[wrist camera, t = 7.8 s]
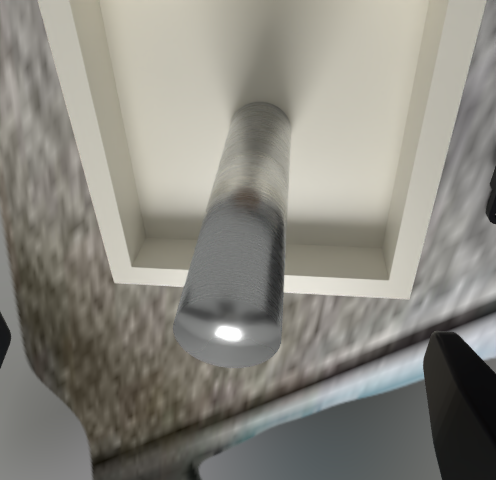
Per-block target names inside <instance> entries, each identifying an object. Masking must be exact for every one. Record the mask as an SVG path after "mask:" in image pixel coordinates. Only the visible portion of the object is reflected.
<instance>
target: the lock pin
mask: <svg viewBox="0 0 496 480" xmlns="http://www.w3.org/2000/svg"><path fill="white" fill-rule="evenodd" d="M290 149H291V124H290V121H289V119H288V117H287V115H286V114H285V113H284V112H283V111H282V110H281V109H280V108H279V107H277V106H275V105H273V104H271V103H267V102H252V103H249V104H246V105H244V106H243V107H241V108H240V109H239V110H238V111H237V112H236V113H235V115H234V116H233V118H232V121H231V124H230V128H229V131H228V135H227V138H226V142H225V145H224V149H223V152H222V156H221V159H220V163H219V166H218V170H217V173H216V177H215V180H214V184H213V187H212V191H211V194H210V198H209V201H208V205H207V208H206V212H205V215H204V219H203V222H202V226H201V229H200V233H199V236H198V240H197V243H196V247H195V250H194V254H193V257H192V261H191V264H190V268H189V271H188V275H187V278H186V282H185V285H184V289H183V292H182V296H181V299H180V303H179V306H178V310H177V313H176V317H175V320H174V324H173V331H174V335H175V338H176V340H177V342H178V343H179V345H180V346H181V347H182V348H183V349H184V350H185V351H186V352H187V353H189V354H190V355H192V356H193V357H195V358H197V359H199V360H201V361H203V362H206V363H209V364H212V365H216V366H220V367H228V368H243V367H250V366H254V365H257V364H260V363H262V362H265V361H266V360H268V359H270V358H271V357H272V356H273V355H274V354H275V353H276V352H277V351H278V349H279V347H280V344H281V336H282V315H283V294H284V273H285V253H286V232H287V211H288V190H289V169H290Z"/></svg>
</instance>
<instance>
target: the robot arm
mask: <svg viewBox="0 0 496 480" xmlns="http://www.w3.org/2000/svg"><path fill="white" fill-rule="evenodd" d="M490 186H491V188H492V189H493V191H492V193H491V196H490V199H489V202H488V205H487V208H486V215H487V217H488V219H489V220H490V222H492V223H493V224H496V215H495V214H496V167H495V170H494V173H493V176H492V179H491V182H490ZM10 341H11V333H10V330H9V328H8V326H7V324H6V322H5V320H4V318H3V316H2V314H1V312H0V368H1V365H2V363H3V360H4V358H5V355H6V353H7V350H8V347H9V345H10ZM423 370H424V377H425V385H426V393H427V400H428V408H429V415H430V422H431V430H432V437H433V444H434V448H435V452H436V457H437V461H438V465H439V469H440V473H441V477H442V480H496V374H495V372H494V371H493V370H492V369H491V368H490V367H489V366H488V365H487V364H486V363H485V362H484V361H483V360H482V359H481V358H480V357H479V356H478V355H477V354H476V353H475V352H474V351H473V350H472V349H471V347H470V346H469V345H468V344H467V343H466V342H465V341H464V340H463V339H462V338H461V337H460V336H459V335H458V334H456V333H454V332H445V331H435V332H433V333H432V335H431V337H430V340H429V344H428V347H427V350H426V353H425V356H424V361H423Z"/></svg>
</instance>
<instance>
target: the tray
mask: <svg viewBox="0 0 496 480" xmlns="http://www.w3.org/2000/svg"><path fill="white" fill-rule="evenodd" d="M486 1H487V0H38V3H39V7H40V11H41V15H42V18H43V22H44V26H45V29H46V33H47V37H48V40H49V44H50V48H51V51H52V55H53V59H54V62H55V66H56V70H57V73H58V77H59V81H60V85H61V88H62V92H63V96H64V99H65V103H66V107H67V110H68V114H69V118H70V121H71V125H72V129H73V132H74V136H75V140H76V144H77V147H78V151H79V155H80V158H81V162H82V166H83V169H84V173H85V177H86V180H87V184H88V188H89V191H90V195H91V199H92V202H93V206H94V210H95V214H96V217H97V221H98V225H99V228H100V232H101V236H102V239H103V243H104V247H105V250H106V254H107V258H108V261H109V265H110V269H111V273H112V276H113V280H114V283H123V284H141V285H159V286H177V287H184V285H185V282H186V278H187V275H188V271H189V268H190V264H191V261H192V257H193V254H194V250H195V247H196V243H197V240H198V236H199V233H200V229H201V226H202V222H203V219H204V215H205V212H206V208H207V205H208V201H209V198H210V194H211V191H212V187H213V184H214V180H215V177H216V173H217V170H218V166H219V163H220V159H221V156H222V152H223V149H224V145H225V142H226V138H227V135H228V131H229V128H230V124H231V121H232V118H233V116H234V115H235V113H236V112H237V111H238V110H239V109H240V108H241V107H243V106H244V105H246V104H249V103H252V102H267V103H271V104H273V105H275V106H277V107H279V108H280V109H281V110H282V111H283V112H284V113H285V114H286V115H287V117H288V119H289V121H290V124H291V149H290V169H289V190H288V211H287V232H286V253H285V273H284V292H285V293H303V294H321V295H339V296H357V297H375V298H393V299H410V295H411V291H412V287H413V283H414V279H415V275H416V272H417V268H418V264H419V260H420V256H421V252H422V248H423V245H424V241H425V237H426V233H427V229H428V225H429V221H430V218H431V214H432V210H433V206H434V202H435V198H436V194H437V190H438V187H439V183H440V179H441V175H442V171H443V167H444V163H445V160H446V156H447V152H448V148H449V144H450V140H451V136H452V133H453V129H454V125H455V121H456V117H457V113H458V109H459V105H460V102H461V98H462V94H463V90H464V86H465V82H466V78H467V75H468V71H469V67H470V63H471V59H472V55H473V51H474V48H475V44H476V40H477V36H478V32H479V28H480V24H481V21H482V17H483V13H484V9H485V5H486Z"/></svg>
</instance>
